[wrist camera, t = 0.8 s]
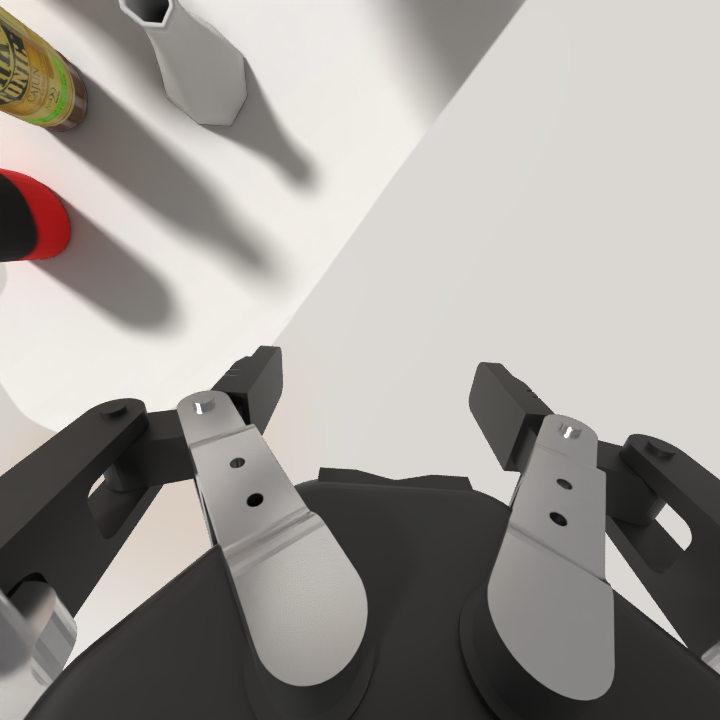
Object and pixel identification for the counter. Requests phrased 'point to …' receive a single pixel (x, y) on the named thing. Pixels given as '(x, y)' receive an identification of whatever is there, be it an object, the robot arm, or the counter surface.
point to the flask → (192, 61)
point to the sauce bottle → (37, 79)
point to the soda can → (30, 219)
